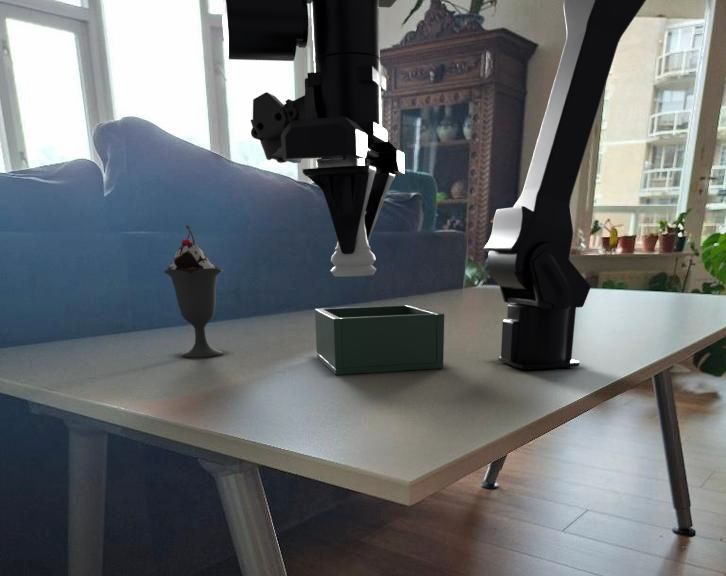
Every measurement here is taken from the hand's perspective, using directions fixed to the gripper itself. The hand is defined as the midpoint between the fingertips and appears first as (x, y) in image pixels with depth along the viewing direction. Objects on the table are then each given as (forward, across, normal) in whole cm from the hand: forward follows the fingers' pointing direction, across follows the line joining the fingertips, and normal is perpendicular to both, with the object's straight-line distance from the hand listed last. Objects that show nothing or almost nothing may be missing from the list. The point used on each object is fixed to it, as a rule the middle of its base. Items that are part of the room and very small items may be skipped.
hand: (353, 253), depth 63 cm
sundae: (+12, -10, -23) cm, 28 cm away
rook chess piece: (+2, 0, 0) cm, 2 cm away
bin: (+12, -8, 0) cm, 14 cm away
